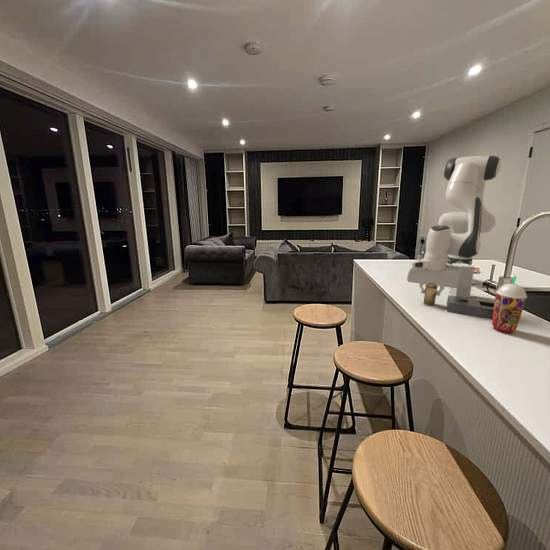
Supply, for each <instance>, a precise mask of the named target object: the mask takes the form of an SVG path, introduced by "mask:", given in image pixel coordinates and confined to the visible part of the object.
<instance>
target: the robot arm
mask: <svg viewBox="0 0 550 550" xmlns="http://www.w3.org/2000/svg"><path fill="white" fill-rule="evenodd" d="M501 167H502V164H501V159H500V158H499V156H496V155H490V156H487V155H473V156H463V157H452V158H450V159H448V160H447V161H446V163H445V165H444V167H443V177H444V179H445V180H446V181H448V183H447V187H446V190H445V200H446V202H447V203H448V204H449V205H450V206H451V207H453V208H455V209H458V210H461V211H452V212H451V211H450V212H446V213H443V214H442V215H441V216H440V217H439V220H438V222H437V223H438V225H434V226H433V225H432V226H431V227H430V228H429V230H428V234H427V236H426V242H425V252H424V256H423V258H418V259H414V260H413V261H412V262H411V266H410V268H409V269H408V273H407V276H406V281H407V282H408V283H414V284H418V285H419V288H420V289H421V291H420V293H421V294H424V295H425V288H424V285H426V284H428V283H431V284H436V286H438V287H439V288H440V289H439V290H437V291H436V297H437V296H438V297H439V296H441V293H442V292H443V290H444V289H445V288H450V287H452V288H458V287H459V284H460V276H461V275H462V272H463V270H462V268H460V267H459V266H452V265H453V263H457V264H468V265H471V266H473V265H472V264H473V257H476V256H477V255H478V254H479V252H480V249H481V234H485V233H489V232H491V231H492V230H493V229H494V228H495V226H496V224H497V223H496V221H497V220H496V217H495V215H493V214H492V213H491V212H489V211H488V210H487V208H486V207H485V205H484V192H485V186H486V181H490V180H491V181H492V180H493V179H495V178H496V177H497V175H498V174H499V173H500V171H501ZM459 268H460V269H459ZM473 274H474V272H473ZM476 282H477V281H475V280H474V277H473V278H472V285H476Z"/></svg>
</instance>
